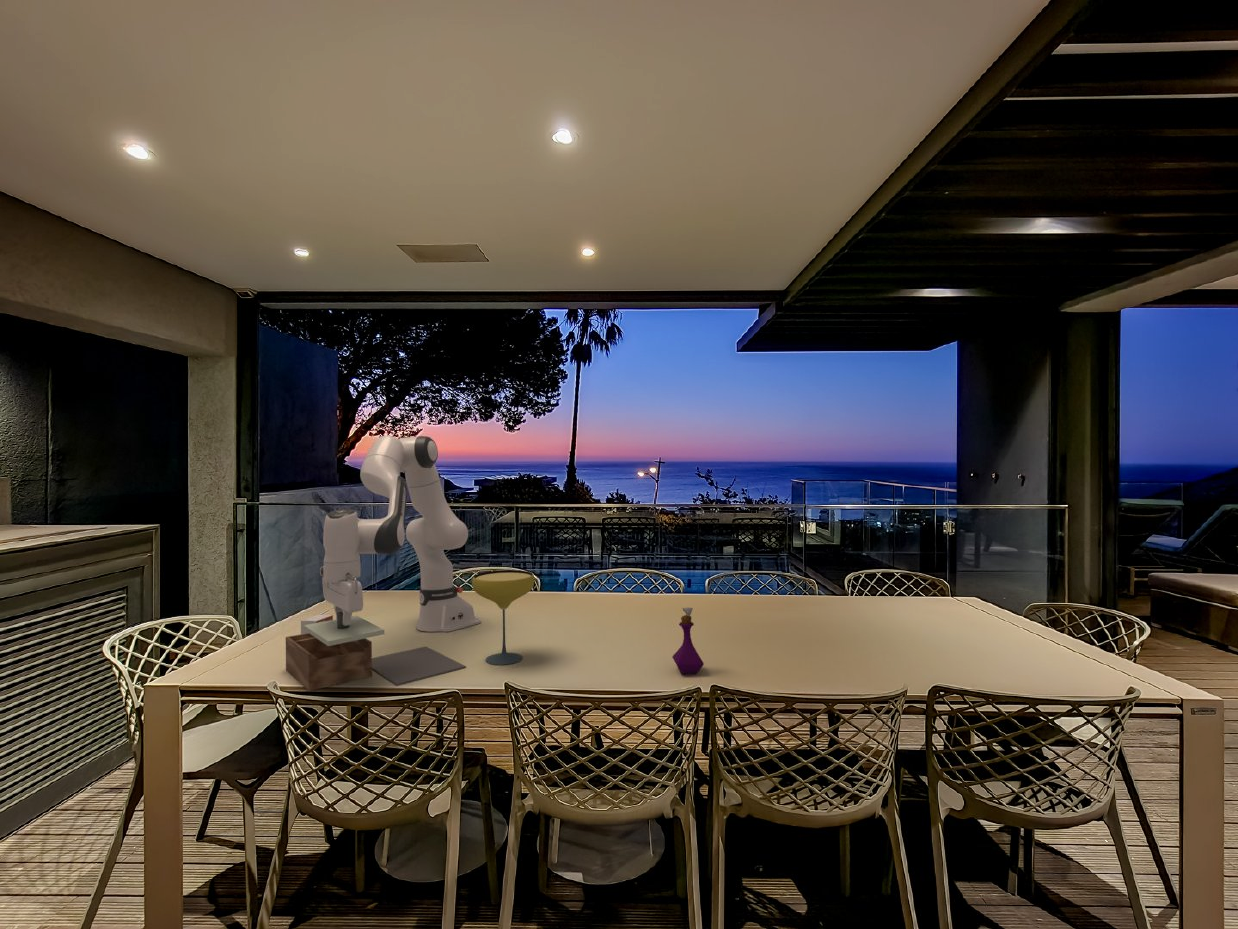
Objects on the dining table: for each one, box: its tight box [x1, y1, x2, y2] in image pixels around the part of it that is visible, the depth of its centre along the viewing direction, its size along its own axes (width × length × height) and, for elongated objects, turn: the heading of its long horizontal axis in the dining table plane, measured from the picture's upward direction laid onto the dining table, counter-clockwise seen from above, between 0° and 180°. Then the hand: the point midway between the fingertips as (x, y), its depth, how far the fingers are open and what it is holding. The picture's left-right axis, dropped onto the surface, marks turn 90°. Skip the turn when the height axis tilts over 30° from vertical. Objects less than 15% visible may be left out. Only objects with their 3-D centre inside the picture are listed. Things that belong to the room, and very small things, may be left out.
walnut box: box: [285, 633, 373, 692], centre depth 168 cm, size 16×22×9 cm
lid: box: [304, 611, 385, 646], centre depth 159 cm, size 14×20×5 cm
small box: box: [300, 614, 334, 634], centre depth 188 cm, size 8×6×10 cm
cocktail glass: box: [471, 569, 535, 666], centre depth 179 cm, size 18×18×25 cm
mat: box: [372, 646, 467, 687], centre depth 174 cm, size 20×26×1 cm
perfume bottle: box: [672, 607, 705, 676], centre depth 166 cm, size 8×8×18 cm
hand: (343, 623), depth 159 cm, fingers closed on lid, 3 cm apart
